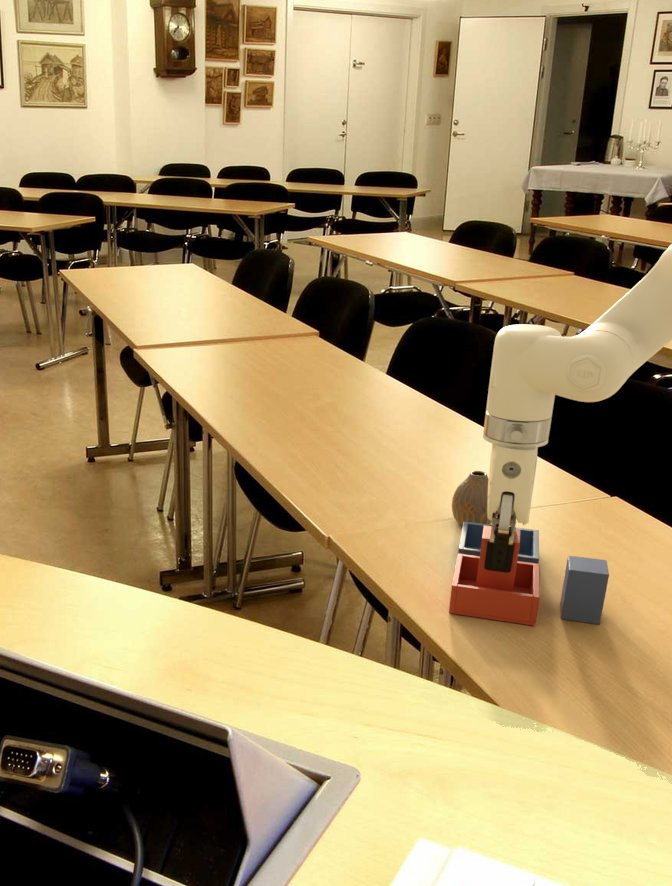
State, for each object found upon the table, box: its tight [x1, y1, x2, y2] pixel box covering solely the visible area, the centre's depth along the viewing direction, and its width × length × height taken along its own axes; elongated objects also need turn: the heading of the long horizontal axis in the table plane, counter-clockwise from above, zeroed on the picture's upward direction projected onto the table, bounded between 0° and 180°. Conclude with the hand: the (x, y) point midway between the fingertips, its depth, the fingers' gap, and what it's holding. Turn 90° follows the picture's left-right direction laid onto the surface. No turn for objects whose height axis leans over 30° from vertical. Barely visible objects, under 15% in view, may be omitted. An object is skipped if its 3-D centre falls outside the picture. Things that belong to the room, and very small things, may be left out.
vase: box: [451, 470, 492, 528], centre depth 143 cm, size 7×7×9 cm
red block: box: [476, 525, 520, 592], centre depth 118 cm, size 4×4×7 cm
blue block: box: [559, 555, 610, 625], centre depth 116 cm, size 4×4×7 cm
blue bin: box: [457, 522, 540, 564], centre depth 130 cm, size 10×10×4 cm
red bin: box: [448, 553, 540, 627], centre depth 120 cm, size 10×10×4 cm
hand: (498, 560), depth 118 cm, fingers closed on red block, 4 cm apart
